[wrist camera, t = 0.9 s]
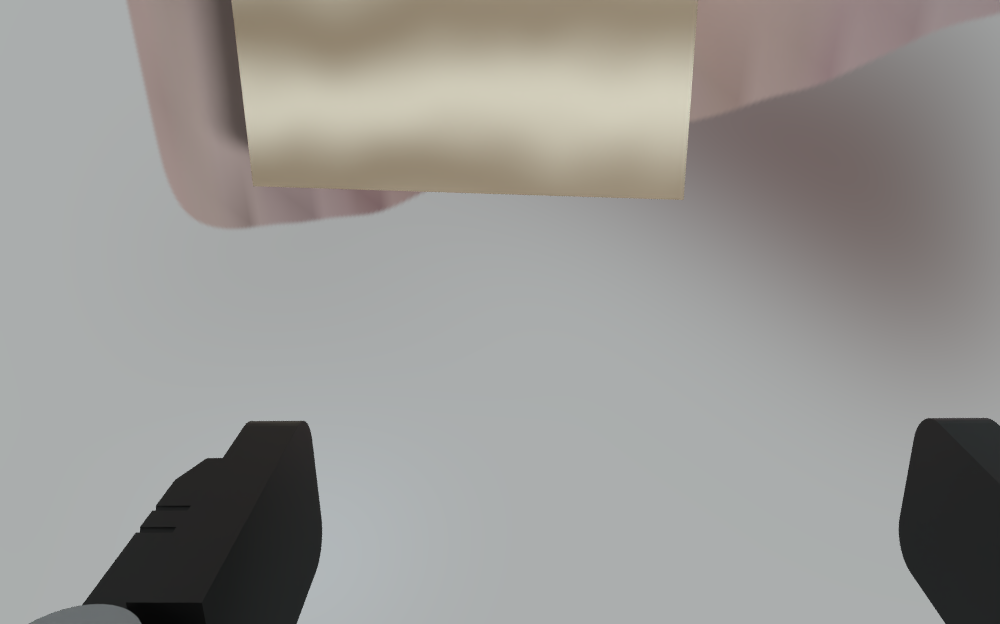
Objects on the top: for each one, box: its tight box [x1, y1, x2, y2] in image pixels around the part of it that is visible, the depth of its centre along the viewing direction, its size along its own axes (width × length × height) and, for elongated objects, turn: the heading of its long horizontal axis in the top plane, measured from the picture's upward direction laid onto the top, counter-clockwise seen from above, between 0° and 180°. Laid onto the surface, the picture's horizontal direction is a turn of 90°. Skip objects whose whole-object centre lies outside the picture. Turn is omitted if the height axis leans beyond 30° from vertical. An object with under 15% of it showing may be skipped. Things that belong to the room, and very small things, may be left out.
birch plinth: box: [231, 0, 698, 200], centre depth 32 cm, size 14×18×4 cm
